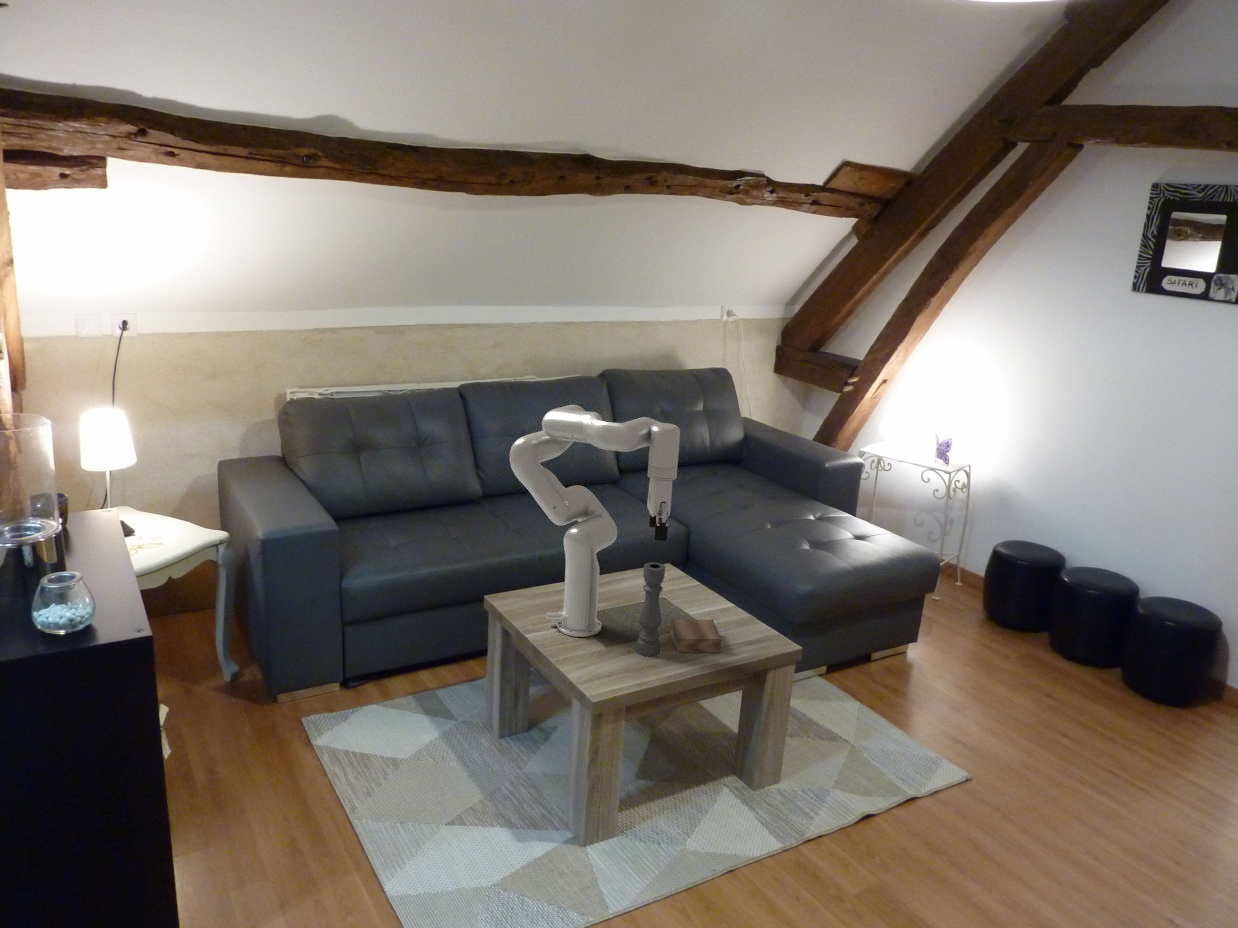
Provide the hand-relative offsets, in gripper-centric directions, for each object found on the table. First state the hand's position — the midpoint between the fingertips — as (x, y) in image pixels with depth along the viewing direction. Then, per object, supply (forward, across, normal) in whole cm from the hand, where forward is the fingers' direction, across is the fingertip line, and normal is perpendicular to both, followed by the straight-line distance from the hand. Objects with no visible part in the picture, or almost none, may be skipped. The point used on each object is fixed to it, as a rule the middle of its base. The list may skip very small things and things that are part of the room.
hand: (657, 533), depth 251 cm
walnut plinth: (+34, -6, +14) cm, 37 cm away
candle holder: (+34, 0, 0) cm, 34 cm away
